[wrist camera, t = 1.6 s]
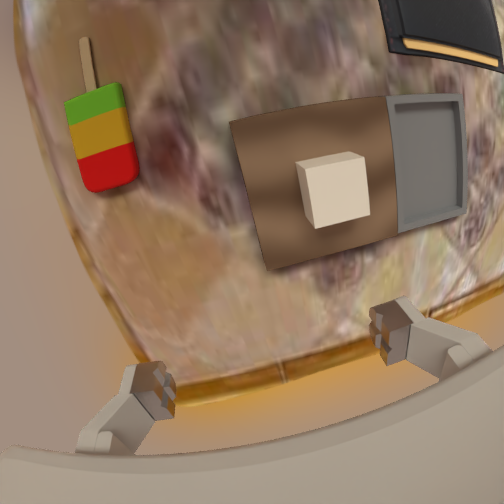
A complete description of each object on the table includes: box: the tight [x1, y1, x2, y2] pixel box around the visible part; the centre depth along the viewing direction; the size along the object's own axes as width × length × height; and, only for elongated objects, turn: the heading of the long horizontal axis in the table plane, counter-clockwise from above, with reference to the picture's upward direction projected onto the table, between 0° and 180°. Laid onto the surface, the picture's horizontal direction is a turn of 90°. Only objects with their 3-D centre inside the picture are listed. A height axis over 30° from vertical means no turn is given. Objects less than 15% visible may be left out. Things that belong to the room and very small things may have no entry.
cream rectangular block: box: [295, 151, 370, 229], centre depth 25 cm, size 5×5×3 cm
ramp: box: [229, 97, 398, 271], centre depth 27 cm, size 14×14×2 cm
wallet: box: [378, 0, 504, 73], centre depth 19 cm, size 20×2×15 cm
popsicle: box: [64, 37, 139, 193], centre depth 22 cm, size 6×15×2 cm, turn 10°
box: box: [378, 93, 468, 233], centre depth 27 cm, size 14×10×2 cm
